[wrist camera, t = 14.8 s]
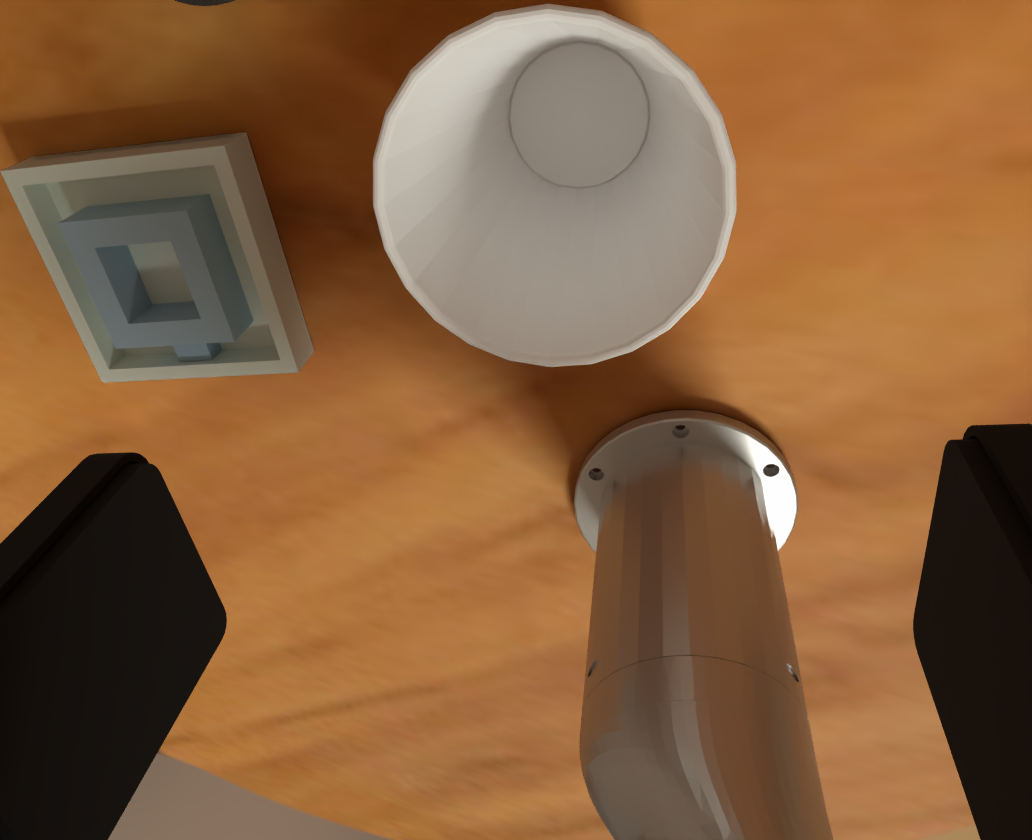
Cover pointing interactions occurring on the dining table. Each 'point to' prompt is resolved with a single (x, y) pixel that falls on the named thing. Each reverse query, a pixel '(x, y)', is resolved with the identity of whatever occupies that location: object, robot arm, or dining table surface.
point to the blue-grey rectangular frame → (122, 293)
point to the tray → (169, 249)
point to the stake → (204, 2)
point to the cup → (554, 185)
